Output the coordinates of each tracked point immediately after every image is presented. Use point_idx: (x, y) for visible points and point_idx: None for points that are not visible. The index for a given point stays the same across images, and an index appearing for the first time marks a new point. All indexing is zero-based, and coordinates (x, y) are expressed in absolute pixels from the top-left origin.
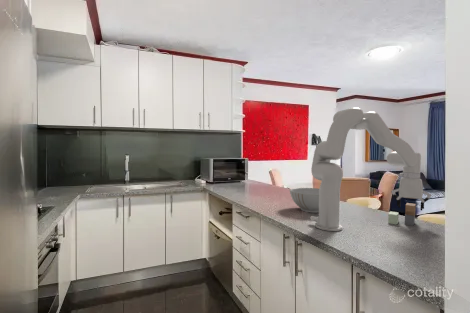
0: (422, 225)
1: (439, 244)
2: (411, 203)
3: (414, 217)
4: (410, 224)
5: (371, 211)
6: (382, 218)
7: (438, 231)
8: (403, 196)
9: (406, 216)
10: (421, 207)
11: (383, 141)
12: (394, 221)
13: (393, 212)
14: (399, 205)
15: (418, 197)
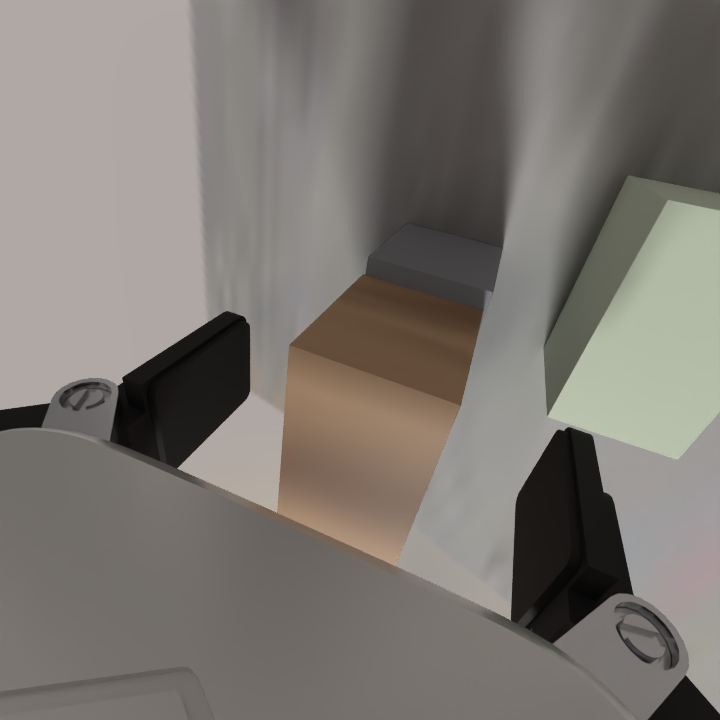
0: (323, 274)
1: None
2: None
3: None
4: (439, 234)
5: (701, 663)
6: (714, 440)
7: (201, 65)
8: (502, 641)
9: (473, 278)
10: (204, 334)
11: None
12: (680, 188)
13: (646, 400)
14: (570, 459)
15: (42, 452)
